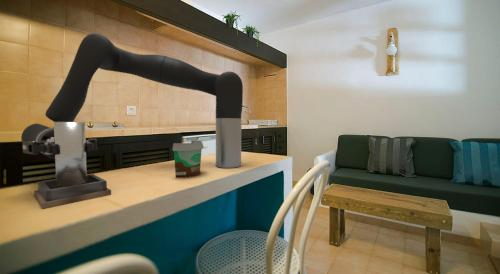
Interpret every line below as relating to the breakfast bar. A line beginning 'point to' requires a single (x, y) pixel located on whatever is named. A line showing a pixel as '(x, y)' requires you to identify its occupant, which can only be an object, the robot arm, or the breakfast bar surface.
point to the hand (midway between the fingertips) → (72, 148)
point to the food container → (187, 158)
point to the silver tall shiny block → (70, 153)
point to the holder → (70, 191)
